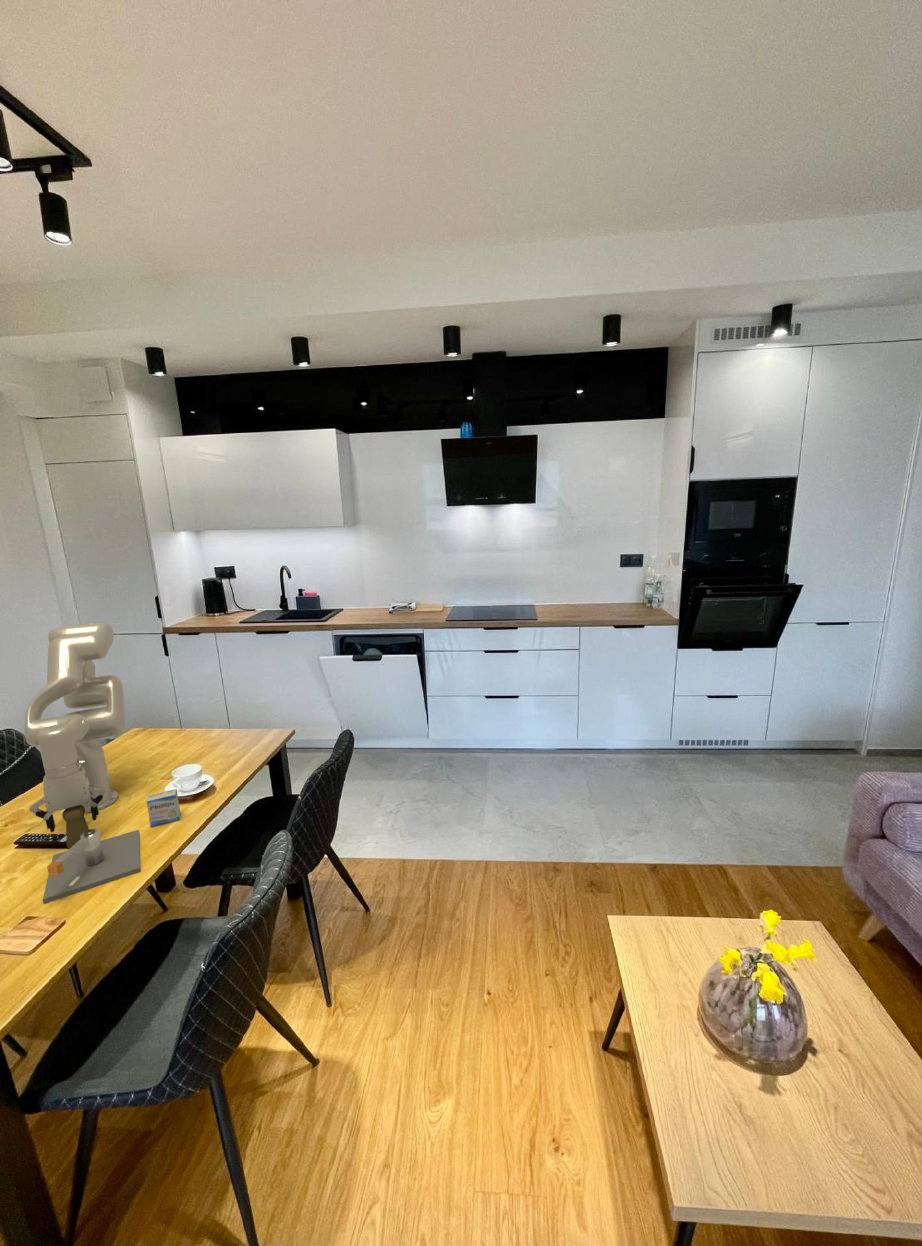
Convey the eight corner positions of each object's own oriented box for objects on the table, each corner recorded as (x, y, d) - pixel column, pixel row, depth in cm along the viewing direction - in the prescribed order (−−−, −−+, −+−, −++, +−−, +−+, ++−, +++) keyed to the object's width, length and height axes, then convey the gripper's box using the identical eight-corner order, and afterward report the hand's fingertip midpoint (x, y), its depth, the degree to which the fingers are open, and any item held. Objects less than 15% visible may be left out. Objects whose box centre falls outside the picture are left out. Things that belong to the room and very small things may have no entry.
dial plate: (54, 858, 140) (53, 854, 140) (139, 833, 151) (138, 828, 150) (43, 903, 124) (42, 898, 124) (140, 871, 134) (139, 866, 134)
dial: (92, 855, 139) (86, 827, 137) (107, 854, 139) (102, 826, 137) (50, 896, 124) (43, 865, 122) (66, 895, 124) (60, 865, 122)
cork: (79, 849, 144) (71, 814, 142) (61, 847, 145) (53, 812, 143) (97, 836, 150) (91, 802, 148) (80, 834, 151) (73, 800, 149)
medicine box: (150, 828, 153) (145, 802, 151) (151, 820, 157) (147, 794, 155) (180, 820, 157) (176, 794, 155) (180, 813, 161) (176, 788, 159)
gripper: (100, 755, 150) (111, 807, 154) (24, 772, 141) (37, 827, 145) (99, 765, 144) (110, 820, 148) (19, 784, 135) (33, 841, 139)
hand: (74, 823), depth 146 cm, fingers open, 9 cm apart
